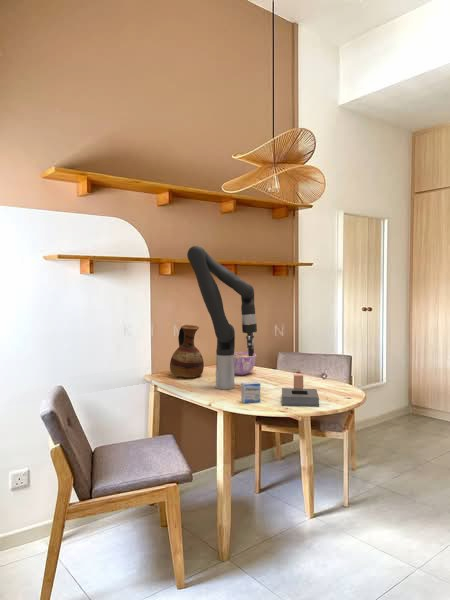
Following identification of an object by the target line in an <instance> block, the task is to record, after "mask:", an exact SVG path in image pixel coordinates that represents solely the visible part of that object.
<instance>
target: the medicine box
mask: <svg viewBox="0 0 450 600" xmlns="http://www.w3.org/2000/svg"><path fill="white" fill-rule="evenodd" d="M240 384H241V385H240V387H241V390H240V394H241V399H240V400H241V402H242V403H244V404H256V403H261V383H260V382H259V381H251V382H250V381H249V382H241V383H240Z"/></svg>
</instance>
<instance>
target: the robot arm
mask: <svg viewBox="0 0 450 600" xmlns="http://www.w3.org/2000/svg"><path fill="white" fill-rule="evenodd" d="M186 255H187V260H188V262H189V264H190V266H191V268H192V270H193V272H194V274H195V277H196V281H197V285H198V288H199V290H200V291H199V292H200V294H201V297H202V299H203V303H204V305H205V307H206V310H207V312H208V314H209V316H210V318H211V321H212V325H213V330H214V333H215V337H216V350H215V351H216V354H215V355H216V356H215V357H216V360H215V362H216V369H215V388H216V389H219V390H231V389H234V388H235V375H234V352H235V344H236V343H235V341H236V333H235V328H234V326H233V325H232V324H231V323H230V322H229V320H228V318H227V316H226V314H225V313H226V312H225V310H224V303H223V298H222V294H221V291H220V289H219V286H218V284H217V282H216V280H215V279H214V276H215V277H216V278H217V279H218V280H219V281H220V282H222V283H223V284H225V285H226V286H228V287H229V288H231V289H232V290H233V291H235V292H236V293H237V294H238V295H239V296H240V297H241V298H240V300H241V305H240V306H241V307H240V308H241V309H240V311H241V329H242V332H241V333H243V334H247V335H246V336H245V339H246V345H247V346H246V347H247V352H248V354H249V356H253V353H255V348H254V346H255V335H254V334H255V333H257V332H258V326H257V324H258V323H257V315H256V308H255V289H254V286H253V285H251V284H249V283H247V282H246V281H244V280H243V279H241V278H240V277H239V276H238V275H237V274H235V273H234V272H232V271H231V270H230V269H229V268H227V267H226V266H224V265H222V264H221V263H219V262H218V261H216V259H214V258H213V257H212V256H211V255H210V254H208V252H207V251H206V250H205V249H204V248H203V247H201V246H198V245H194V246H191V247H190V248H189V249H188V250H187V254H186Z"/></svg>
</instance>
